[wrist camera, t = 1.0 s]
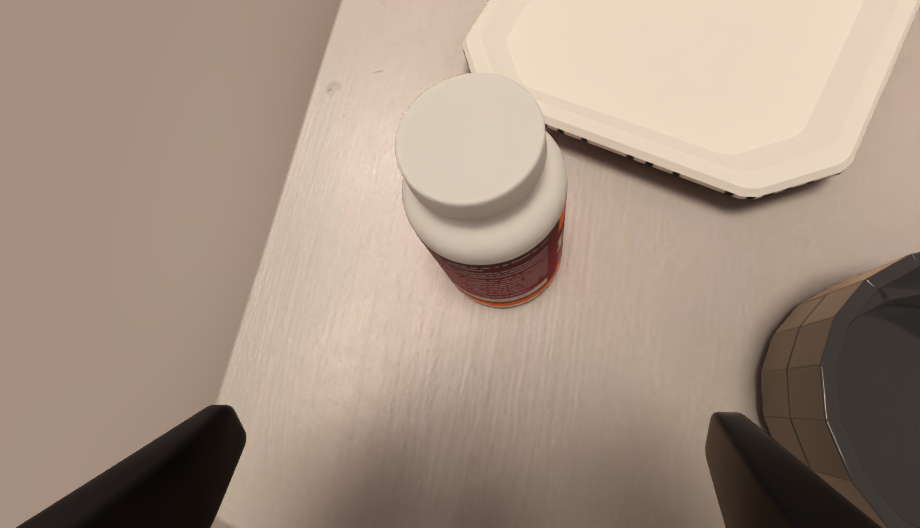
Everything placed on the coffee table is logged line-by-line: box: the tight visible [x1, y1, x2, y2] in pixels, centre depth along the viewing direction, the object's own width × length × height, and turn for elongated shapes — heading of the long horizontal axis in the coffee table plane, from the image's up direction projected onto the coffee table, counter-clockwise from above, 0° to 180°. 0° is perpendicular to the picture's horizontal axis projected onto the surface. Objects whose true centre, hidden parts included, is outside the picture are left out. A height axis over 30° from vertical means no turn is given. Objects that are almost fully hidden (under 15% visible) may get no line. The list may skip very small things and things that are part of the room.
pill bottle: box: [395, 73, 567, 307], centre depth 18 cm, size 6×6×11 cm
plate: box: [463, 0, 920, 200], centre depth 24 cm, size 21×21×2 cm
